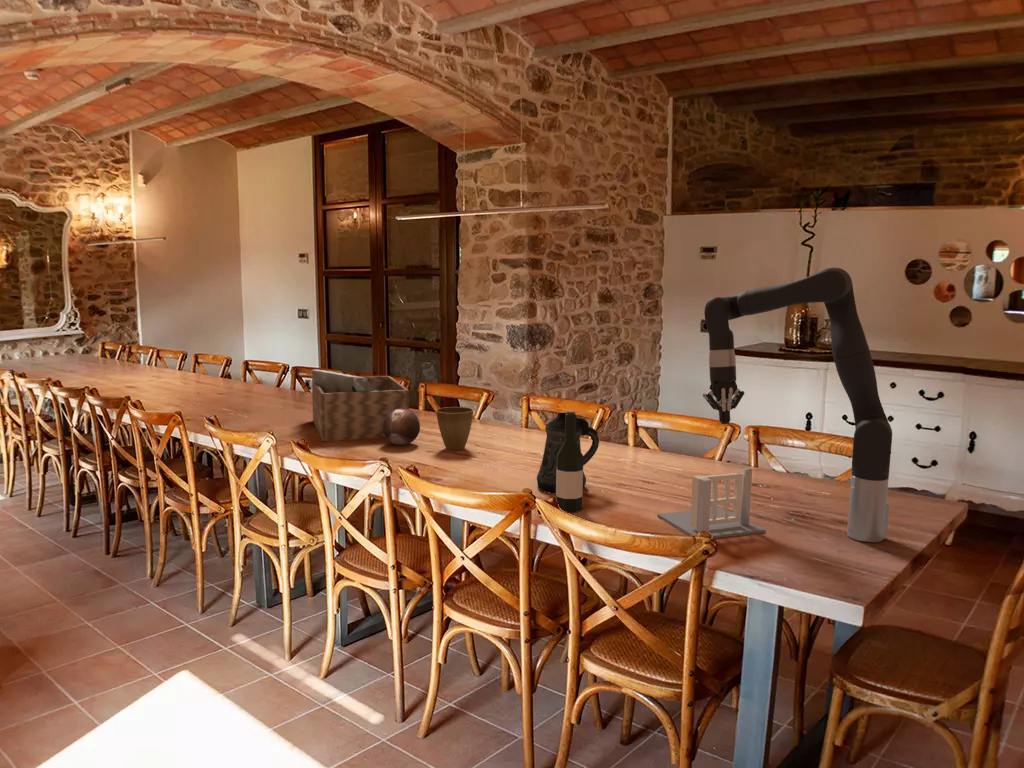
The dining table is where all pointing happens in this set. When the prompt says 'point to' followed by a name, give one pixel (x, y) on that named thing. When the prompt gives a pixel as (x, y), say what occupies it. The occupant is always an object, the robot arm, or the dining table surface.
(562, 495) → the wine bottle
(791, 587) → the dining table surface
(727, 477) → the gate
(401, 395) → the crate
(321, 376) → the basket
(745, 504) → the gate frame
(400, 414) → the wooden sphere
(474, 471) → the dining table surface
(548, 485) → the beer stein
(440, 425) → the plant pot
